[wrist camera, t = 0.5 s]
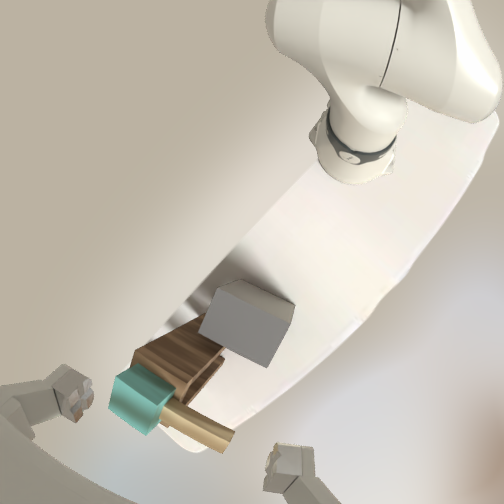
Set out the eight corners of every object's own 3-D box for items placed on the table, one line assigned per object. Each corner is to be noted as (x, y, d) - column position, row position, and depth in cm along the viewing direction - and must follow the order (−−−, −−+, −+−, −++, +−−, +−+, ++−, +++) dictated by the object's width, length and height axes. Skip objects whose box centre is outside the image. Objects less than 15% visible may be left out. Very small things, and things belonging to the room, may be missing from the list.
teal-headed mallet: (138, 363, 31) (115, 376, 27) (240, 422, 29) (229, 445, 24) (128, 393, 32) (108, 408, 27) (222, 450, 29) (211, 472, 24)
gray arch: (241, 279, 56) (217, 287, 41) (295, 305, 53) (290, 323, 39) (225, 313, 56) (197, 332, 41) (277, 339, 54) (266, 368, 39)
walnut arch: (205, 312, 57) (134, 350, 32) (238, 330, 56) (186, 383, 30) (190, 347, 58) (121, 396, 32) (222, 364, 56) (167, 428, 31)
